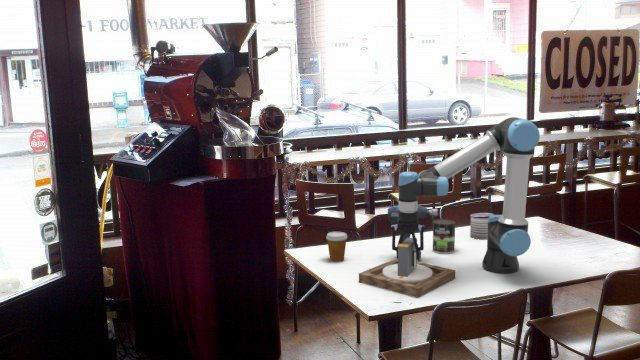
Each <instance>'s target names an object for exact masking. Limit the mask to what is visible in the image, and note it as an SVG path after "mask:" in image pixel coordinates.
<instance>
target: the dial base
mask: <svg viewBox="0 0 640 360" xmlns="http://www.w3.org/2000/svg"><path fill="white" fill-rule="evenodd" d="M393 264H398V259H397V257H396V258H393V259H392V260H389V261H386V262H384V263H381V264H378V265H376V266H374V267H371V268H369V269H366V270H365V271H362V272H360V273H358V282H359V283H363V284H366V285H369V286H374V287H378V288H381V289H384V290H388V291H391V290H392V292H395V293H400V294H404V295H408V296H410V297H414V298H420V297H422V296H424V295H426V294H427V293H429V292H431V291H433V290H436V289H437V288H440V287H441V286H443V285H446V284H448V283H449V282H451V281H453V280H455V279H456V273H457V272H456V269H452V268H449V267H448V268H447V267H443V266H438V265H434V264H429V263H425V262H420V261H417V264H419V265H423V266H426V267H428V268H430V269H431V270H432V277H431V278H429V279H427V280H424V281H422V282H420V283H418V284H410V283H406V282H402V281H398V280H394V279H391V278H386V277H383V269H384V268H385V267H386V266H389V265H393Z"/></svg>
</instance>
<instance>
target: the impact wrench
mask: <svg viewBox="0 0 640 360" xmlns="http://www.w3.org/2000/svg"><path fill="white" fill-rule="evenodd" d="M399 211H400V210H399V209H398V205H394V206H392V205H391V206H390V207H388V209H387V218H388V221H389V222H390V224H392V225H397V223H398V212H399ZM439 212H440V210H439V209H438V208H432V209H428V208H427V207H426V206H425V207H424V206H422V205H420V204H418V208H417V222H418V223H420V222H421V221H423V220H426V219H428V217H435V218H437V216H439V215H440V213H439ZM411 236H412V234H404V237H403V240H402V242H403V241H404V240H405V239H407V238H411ZM421 258H422V250H421V251H419V259H417V262H419V261H420V260H421Z"/></svg>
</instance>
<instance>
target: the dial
mask: <svg viewBox="0 0 640 360" xmlns="http://www.w3.org/2000/svg"><path fill="white" fill-rule="evenodd" d="M416 240H417V241H418V237H416ZM397 245H398V244H397ZM414 250H416V249H415V245H414V241H413V238H412V237H410V238H407V239H405V240H404V241H403V242H402V243H401V244H399V245H398V264H393V265H389V266H386V267H385V268H384V269H383V277H386V278H391V279H394V280H398V281H402V282H406V283H410V284H418V283H420V282H422V281H424V280H427V279H429V278H431V277H432V270H431V269H430V268H428V267H426V266H423V265H419V264H417V262H418V261H417V259H416V268H414Z"/></svg>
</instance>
